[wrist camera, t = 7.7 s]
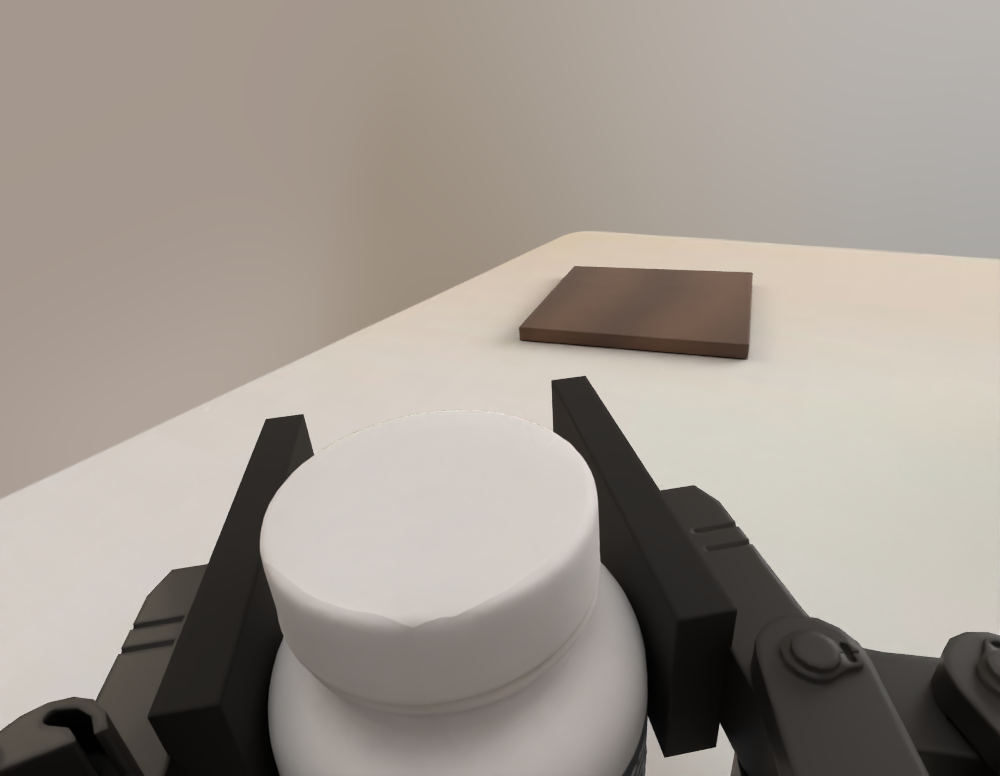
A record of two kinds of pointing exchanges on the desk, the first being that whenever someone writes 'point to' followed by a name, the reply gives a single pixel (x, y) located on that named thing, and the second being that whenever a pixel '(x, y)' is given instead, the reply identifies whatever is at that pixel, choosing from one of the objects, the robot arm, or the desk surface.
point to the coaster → (647, 311)
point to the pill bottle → (449, 608)
